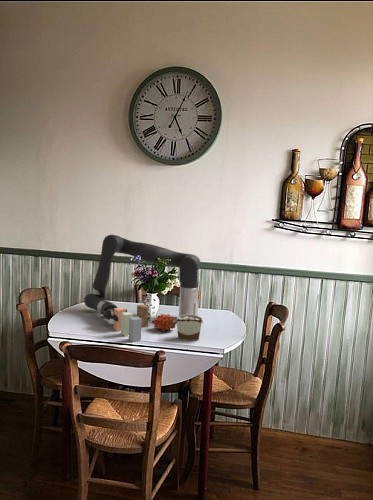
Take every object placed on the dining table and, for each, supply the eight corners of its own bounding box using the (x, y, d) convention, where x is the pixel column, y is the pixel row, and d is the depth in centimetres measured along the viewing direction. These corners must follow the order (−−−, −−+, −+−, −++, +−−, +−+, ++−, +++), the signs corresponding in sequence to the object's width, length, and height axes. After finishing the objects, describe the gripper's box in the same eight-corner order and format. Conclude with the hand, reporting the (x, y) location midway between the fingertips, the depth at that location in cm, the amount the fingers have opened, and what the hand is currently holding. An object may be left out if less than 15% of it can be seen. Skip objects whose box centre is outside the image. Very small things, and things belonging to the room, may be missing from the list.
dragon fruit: (178, 334, 218) (152, 336, 219) (177, 320, 224) (153, 322, 225) (175, 324, 212) (149, 326, 213) (175, 309, 218) (150, 311, 219)
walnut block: (143, 324, 226) (144, 304, 225) (147, 326, 223) (148, 306, 221) (136, 325, 224) (137, 305, 223) (140, 327, 221) (141, 307, 219)
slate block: (136, 338, 207) (137, 316, 205) (140, 340, 203) (141, 319, 202) (128, 339, 204) (129, 317, 203) (132, 342, 201) (133, 320, 200)
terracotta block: (121, 327, 220) (121, 307, 218) (125, 330, 216) (125, 309, 215) (113, 328, 218) (114, 308, 216) (117, 331, 214) (117, 310, 213)
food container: (201, 335, 214) (202, 314, 212) (202, 340, 208) (203, 318, 206) (174, 334, 213) (175, 313, 212) (174, 339, 207) (175, 317, 206)
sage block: (128, 332, 213) (129, 311, 212) (132, 335, 210) (133, 314, 208) (120, 334, 211) (121, 312, 209) (124, 336, 208) (125, 315, 206)
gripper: (93, 303, 223) (108, 312, 209) (120, 300, 231) (136, 309, 217) (93, 318, 225) (107, 328, 210) (120, 314, 232) (135, 324, 218)
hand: (122, 318), depth 214 cm, fingers closed on terracotta block, 4 cm apart
